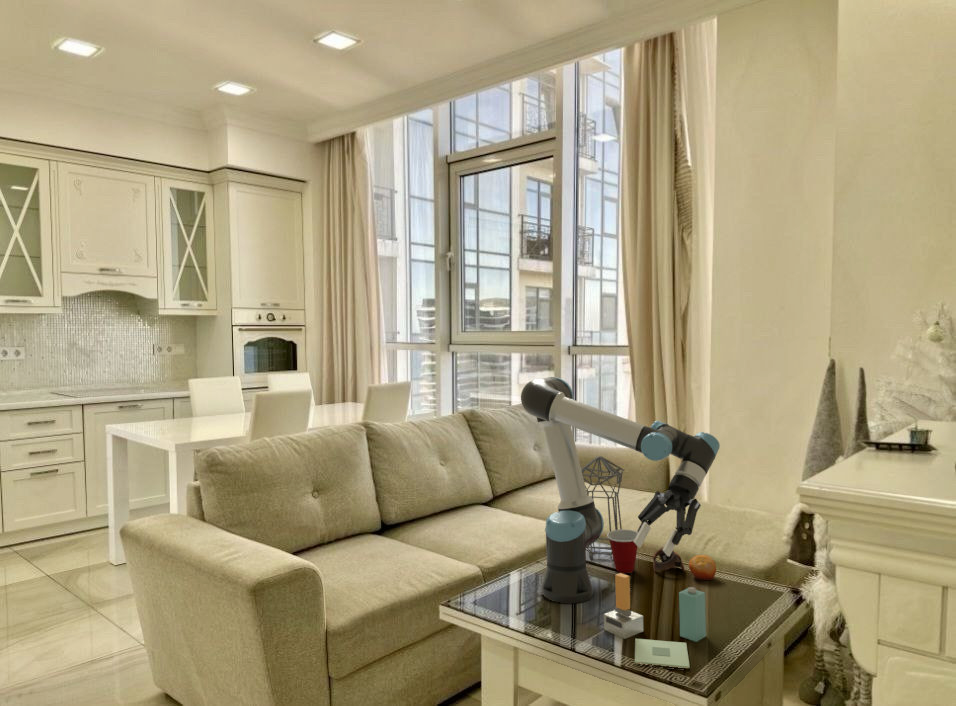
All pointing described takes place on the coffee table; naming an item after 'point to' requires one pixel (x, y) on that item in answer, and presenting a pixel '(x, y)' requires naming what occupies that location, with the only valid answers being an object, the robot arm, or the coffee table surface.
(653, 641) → the pad
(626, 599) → the lever
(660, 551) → the pottery mug
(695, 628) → the teal tall block
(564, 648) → the coffee table surface
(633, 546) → the plastic cup
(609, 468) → the geometric lantern
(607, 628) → the box
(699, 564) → the fruit
